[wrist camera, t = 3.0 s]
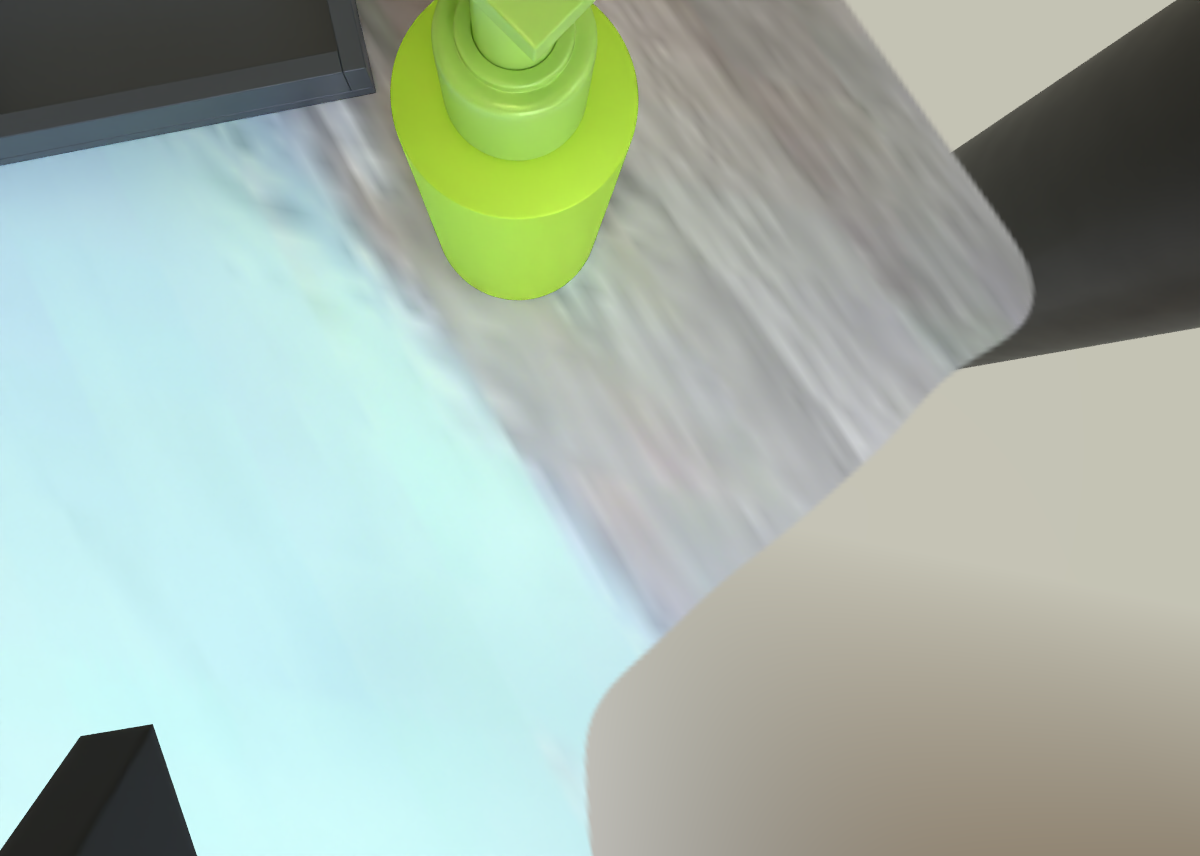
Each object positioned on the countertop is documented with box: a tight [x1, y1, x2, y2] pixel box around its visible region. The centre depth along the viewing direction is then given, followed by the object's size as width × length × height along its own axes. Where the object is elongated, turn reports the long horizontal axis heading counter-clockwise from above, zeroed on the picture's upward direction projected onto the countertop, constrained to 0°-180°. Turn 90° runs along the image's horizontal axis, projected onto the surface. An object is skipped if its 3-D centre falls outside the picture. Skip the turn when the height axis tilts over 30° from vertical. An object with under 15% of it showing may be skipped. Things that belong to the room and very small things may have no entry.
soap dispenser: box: [390, 0, 638, 300], centre depth 26 cm, size 6×7×20 cm
